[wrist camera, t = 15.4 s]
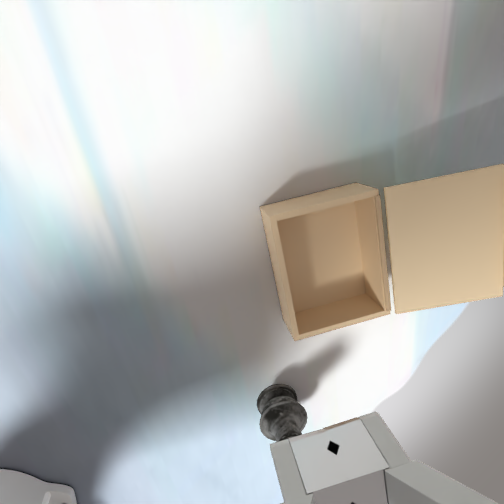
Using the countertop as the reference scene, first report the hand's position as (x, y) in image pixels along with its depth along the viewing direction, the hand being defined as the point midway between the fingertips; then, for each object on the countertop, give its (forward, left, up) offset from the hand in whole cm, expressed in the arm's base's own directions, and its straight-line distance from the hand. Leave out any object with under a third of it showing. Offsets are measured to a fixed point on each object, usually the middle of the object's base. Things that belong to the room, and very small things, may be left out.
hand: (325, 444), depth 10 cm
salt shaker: (-26, -1, -31) cm, 41 cm away
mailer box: (-8, -9, -31) cm, 33 cm away
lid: (-7, -21, -24) cm, 33 cm away
